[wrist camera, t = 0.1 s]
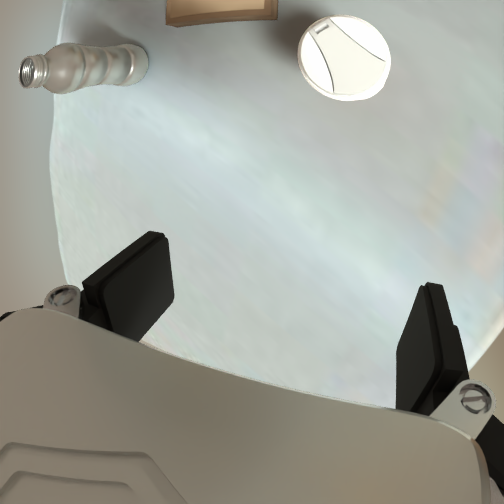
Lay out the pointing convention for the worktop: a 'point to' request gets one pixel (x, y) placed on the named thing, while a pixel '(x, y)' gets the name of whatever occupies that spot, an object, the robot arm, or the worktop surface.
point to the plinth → (218, 11)
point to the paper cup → (344, 58)
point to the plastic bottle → (83, 67)
